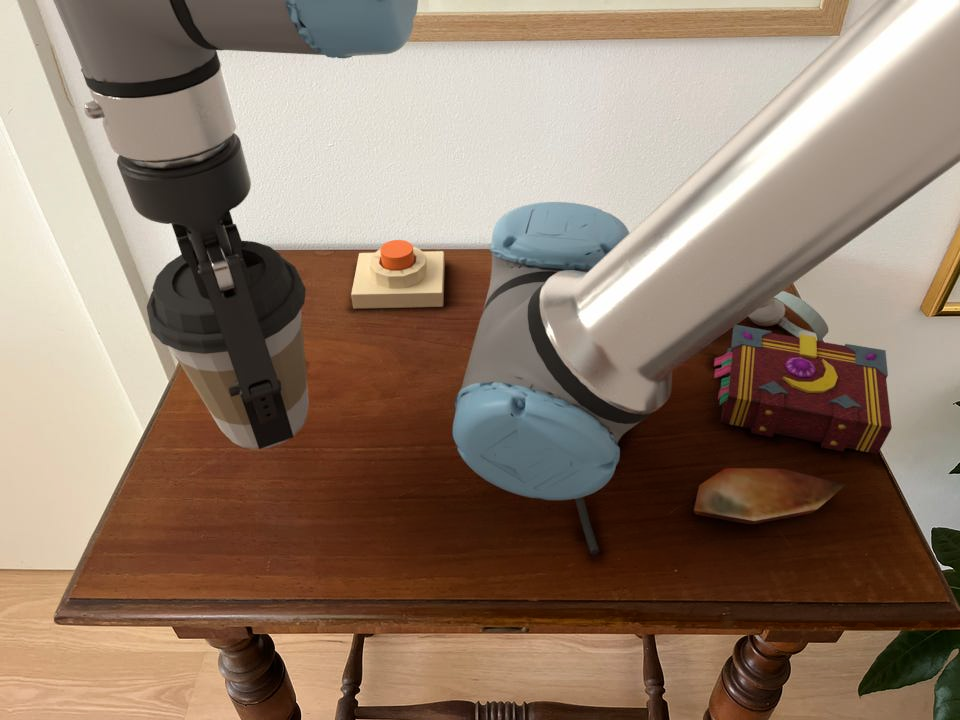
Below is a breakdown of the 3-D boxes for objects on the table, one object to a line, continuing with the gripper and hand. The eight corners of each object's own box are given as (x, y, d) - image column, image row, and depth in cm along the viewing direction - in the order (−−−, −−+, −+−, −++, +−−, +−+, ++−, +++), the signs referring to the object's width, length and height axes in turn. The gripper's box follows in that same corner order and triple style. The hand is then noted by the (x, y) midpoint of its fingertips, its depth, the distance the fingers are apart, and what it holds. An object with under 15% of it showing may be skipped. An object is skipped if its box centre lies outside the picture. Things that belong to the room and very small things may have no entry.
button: (415, 253, 91) (413, 239, 90) (413, 271, 88) (412, 257, 87) (383, 253, 91) (381, 239, 90) (380, 272, 88) (378, 258, 87)
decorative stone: (864, 517, 62) (853, 542, 63) (842, 473, 66) (832, 497, 68) (697, 502, 62) (691, 527, 64) (687, 460, 67) (682, 484, 69)
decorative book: (878, 460, 70) (896, 425, 66) (706, 425, 74) (715, 391, 70) (870, 380, 78) (887, 345, 74) (715, 352, 82) (724, 318, 78)
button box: (444, 265, 95) (443, 239, 93) (443, 306, 89) (441, 280, 86) (361, 266, 95) (357, 240, 93) (353, 308, 89) (349, 282, 86)
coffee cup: (343, 372, 66) (313, 231, 56) (319, 470, 58) (278, 324, 48) (220, 372, 66) (169, 232, 56) (178, 469, 58) (109, 324, 48)
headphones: (709, 270, 95) (842, 336, 80) (688, 293, 95) (819, 363, 80) (687, 232, 89) (826, 296, 75) (665, 256, 89) (801, 325, 75)
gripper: (98, 89, 52) (187, 325, 67) (136, 250, 36) (243, 513, 51) (204, 70, 54) (268, 302, 69) (283, 213, 38) (345, 475, 53)
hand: (257, 392), depth 60 cm, fingers closed on coffee cup, 11 cm apart
